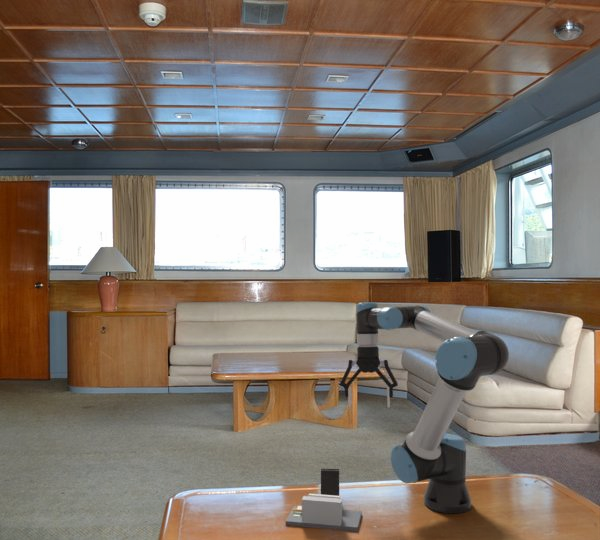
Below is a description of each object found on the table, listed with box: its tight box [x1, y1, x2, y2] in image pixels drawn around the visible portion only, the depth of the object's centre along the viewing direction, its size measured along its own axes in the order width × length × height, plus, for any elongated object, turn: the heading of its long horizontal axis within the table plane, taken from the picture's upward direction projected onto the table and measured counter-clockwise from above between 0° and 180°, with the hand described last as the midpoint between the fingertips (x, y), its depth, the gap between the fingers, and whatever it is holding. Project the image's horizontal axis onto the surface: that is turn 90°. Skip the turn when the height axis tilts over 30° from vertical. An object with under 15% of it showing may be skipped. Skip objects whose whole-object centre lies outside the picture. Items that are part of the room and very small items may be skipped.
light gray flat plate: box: [293, 493, 342, 512], centre depth 190 cm, size 15×1×6 cm, turn 78°
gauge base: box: [285, 495, 363, 532], centre depth 189 cm, size 22×12×8 cm, turn 78°
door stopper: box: [320, 468, 340, 496], centre depth 200 cm, size 9×6×12 cm, turn 174°
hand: (369, 406), depth 214 cm, fingers open, 13 cm apart
